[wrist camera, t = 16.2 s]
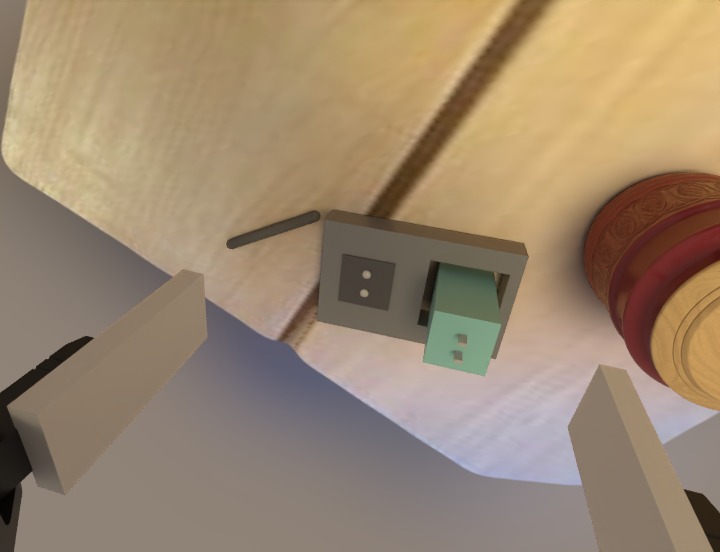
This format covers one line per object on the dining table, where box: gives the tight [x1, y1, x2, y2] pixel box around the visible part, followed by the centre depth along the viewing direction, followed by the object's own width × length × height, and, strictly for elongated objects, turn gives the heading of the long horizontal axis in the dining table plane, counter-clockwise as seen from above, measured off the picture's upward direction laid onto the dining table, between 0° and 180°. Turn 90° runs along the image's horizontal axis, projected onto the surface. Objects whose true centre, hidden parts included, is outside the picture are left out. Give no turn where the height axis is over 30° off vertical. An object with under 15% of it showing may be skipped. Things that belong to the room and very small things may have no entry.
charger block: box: [423, 262, 501, 376], centre depth 38 cm, size 5×5×11 cm
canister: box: [584, 173, 720, 411], centre depth 29 cm, size 13×13×18 cm
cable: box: [226, 211, 320, 249], centre depth 44 cm, size 11×1×1 cm, turn 112°
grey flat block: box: [317, 210, 529, 359], centre depth 42 cm, size 18×11×3 cm, turn 84°
